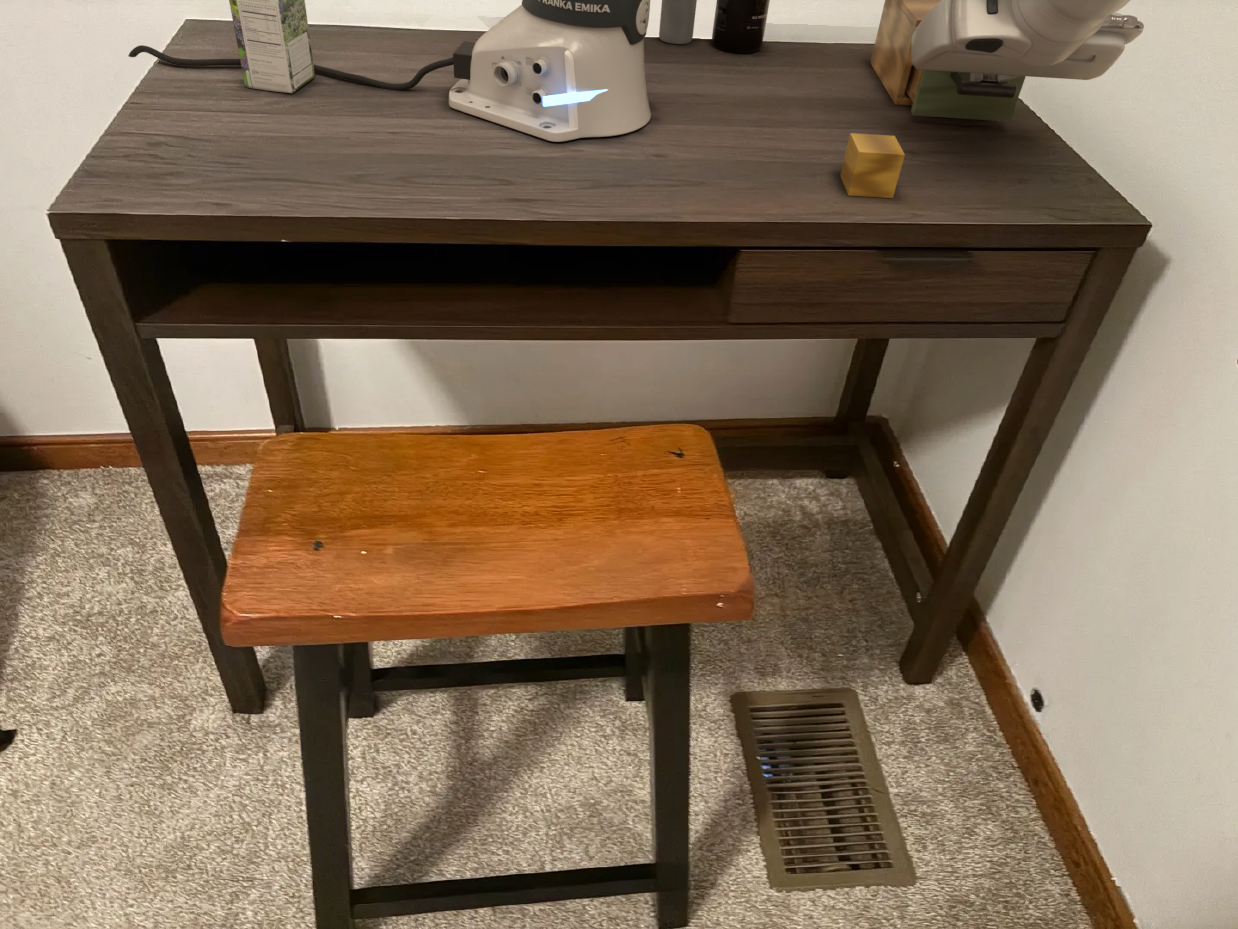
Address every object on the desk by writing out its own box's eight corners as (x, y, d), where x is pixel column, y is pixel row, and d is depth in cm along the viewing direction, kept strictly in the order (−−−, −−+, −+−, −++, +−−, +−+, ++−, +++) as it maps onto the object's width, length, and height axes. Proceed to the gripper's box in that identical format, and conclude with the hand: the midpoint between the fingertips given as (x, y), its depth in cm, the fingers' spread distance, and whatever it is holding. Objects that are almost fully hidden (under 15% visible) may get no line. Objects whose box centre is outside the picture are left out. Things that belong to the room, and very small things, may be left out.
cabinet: (997, 111, 111) (1025, 26, 105) (894, 104, 111) (917, 19, 104) (963, 69, 122) (987, -10, 116) (870, 63, 122) (888, -17, 115)
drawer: (1024, 138, 103) (1050, 66, 98) (923, 132, 102) (944, 59, 97) (976, 80, 117) (997, 14, 111) (887, 74, 116) (904, 7, 111)
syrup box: (269, 71, 106) (243, -72, 96) (318, 77, 105) (296, -66, 96) (244, 88, 102) (214, -60, 92) (294, 95, 101) (269, -53, 91)
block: (848, 195, 91) (858, 151, 88) (839, 175, 94) (850, 132, 91) (892, 198, 91) (905, 154, 88) (883, 178, 95) (894, 135, 92)
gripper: (1154, -13, 88) (1076, 57, 102) (944, -27, 87) (893, 46, 101) (1153, 52, 88) (1075, 114, 101) (942, 38, 87) (892, 102, 100)
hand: (983, 80), depth 101 cm, fingers closed, pressing on drawer
